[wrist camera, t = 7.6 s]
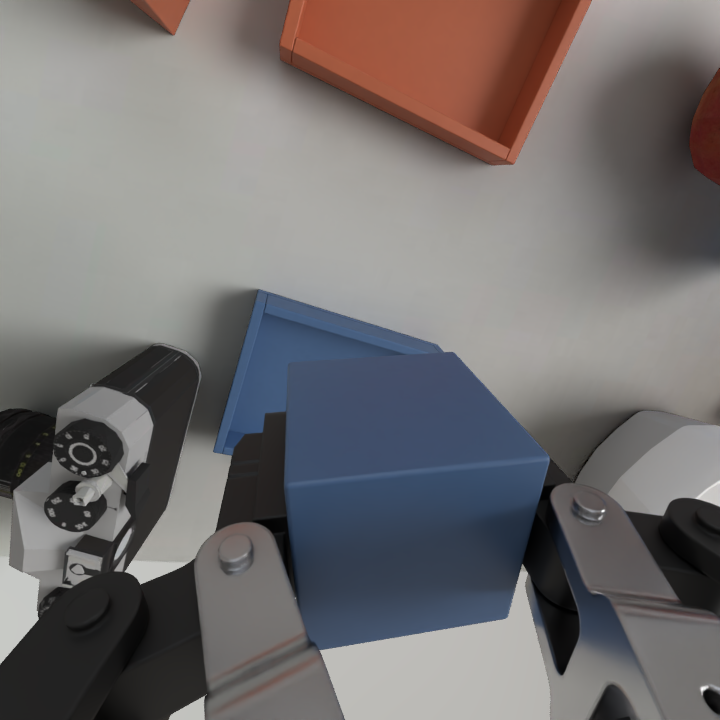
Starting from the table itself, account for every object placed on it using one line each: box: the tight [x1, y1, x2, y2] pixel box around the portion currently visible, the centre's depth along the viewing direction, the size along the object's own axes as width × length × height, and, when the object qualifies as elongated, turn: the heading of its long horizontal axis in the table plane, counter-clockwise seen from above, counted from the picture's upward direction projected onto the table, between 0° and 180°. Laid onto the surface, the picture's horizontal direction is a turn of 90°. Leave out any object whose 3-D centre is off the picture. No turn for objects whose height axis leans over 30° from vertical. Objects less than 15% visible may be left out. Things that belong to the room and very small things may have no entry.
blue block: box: [284, 352, 550, 650], centre depth 9 cm, size 4×4×4 cm
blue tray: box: [213, 289, 443, 455], centre depth 27 cm, size 13×11×2 cm
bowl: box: [575, 411, 720, 516], centre depth 33 cm, size 18×18×9 cm
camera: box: [0, 344, 202, 619], centre depth 22 cm, size 15×11×10 cm
